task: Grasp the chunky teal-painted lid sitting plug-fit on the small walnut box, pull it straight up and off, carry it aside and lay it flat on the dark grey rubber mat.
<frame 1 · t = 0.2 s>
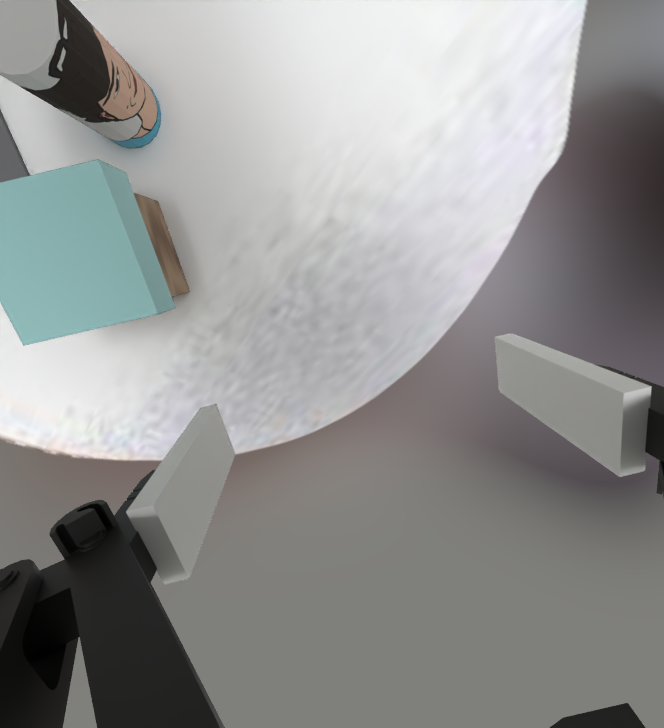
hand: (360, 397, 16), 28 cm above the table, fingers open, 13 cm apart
printed grey cylinder: (127, 111, 35), on the table
lid: (96, 258, 32), point 7 cm above the table, touching box
box: (132, 258, 39), on the table
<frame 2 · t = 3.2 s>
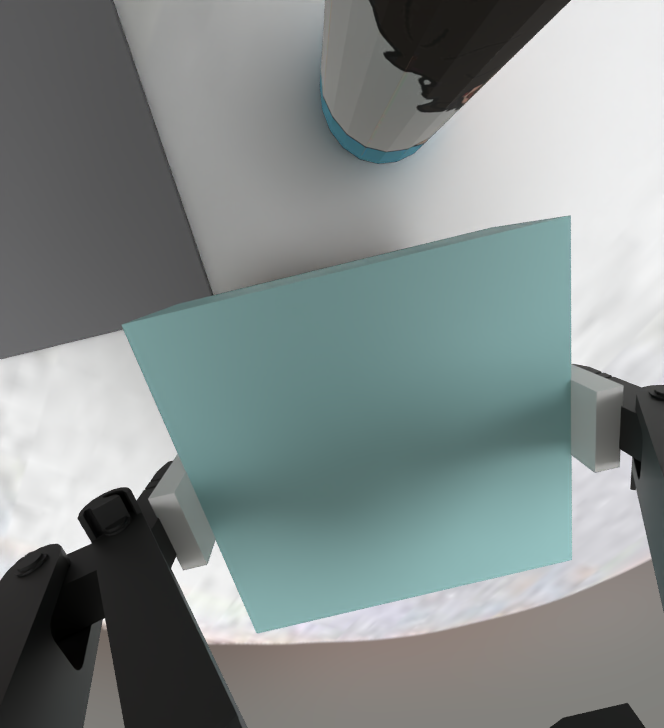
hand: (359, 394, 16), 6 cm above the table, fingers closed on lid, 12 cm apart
printed grey cylinder: (382, 93, 18), on the table
lid: (361, 396, 16), point 7 cm above the table, touching box, gripper
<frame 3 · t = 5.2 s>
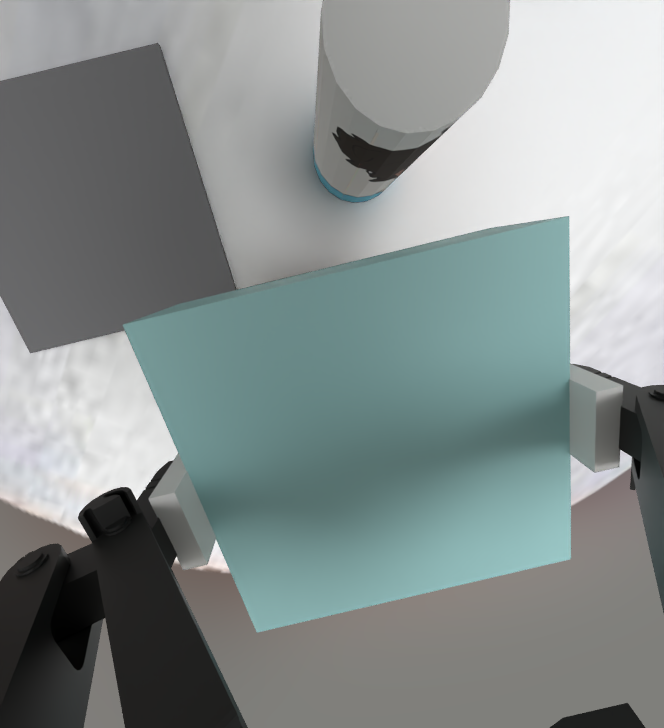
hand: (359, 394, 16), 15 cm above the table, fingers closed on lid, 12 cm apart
mat: (90, 214, 26), on the table
printed grey cylinder: (356, 155, 26), on the table
lid: (360, 396, 16), point 15 cm above the table, touching gripper
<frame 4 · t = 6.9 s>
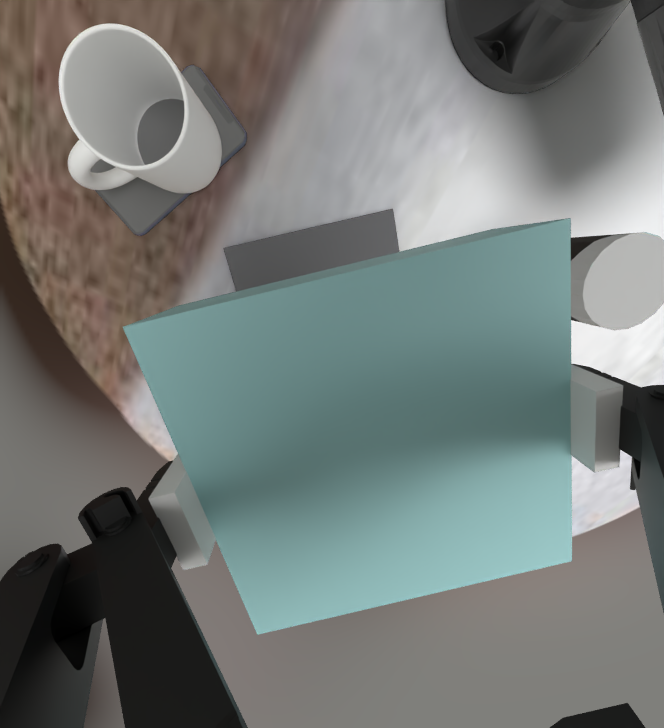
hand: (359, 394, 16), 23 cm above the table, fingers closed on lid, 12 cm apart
mug: (165, 159, 33), resting on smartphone
mat: (326, 312, 38), on the table
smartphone: (168, 157, 33), on the table
printed grey cylinder: (508, 273, 38), on the table
lid: (361, 398, 16), point 24 cm above the table, touching gripper
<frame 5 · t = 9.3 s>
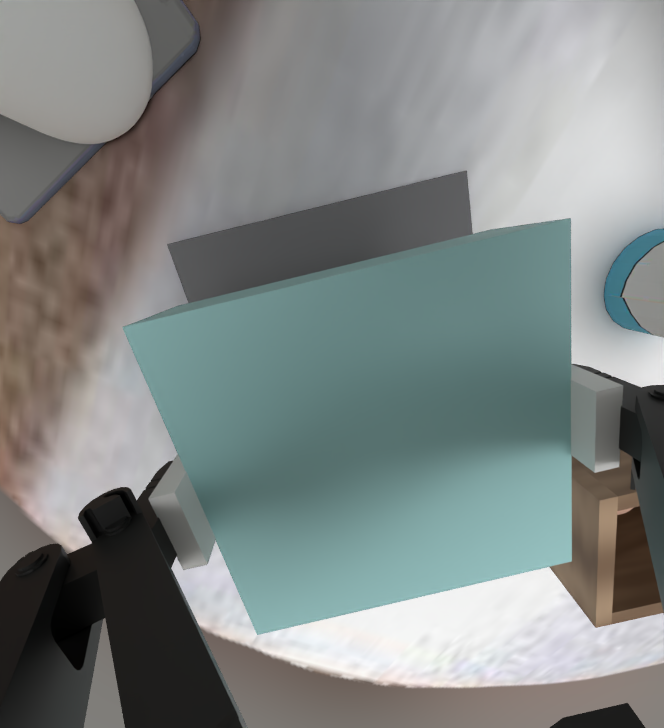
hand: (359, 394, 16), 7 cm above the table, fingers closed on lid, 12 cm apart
mug: (51, 80, 18), resting on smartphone
mat: (347, 349, 23), on the table
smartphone: (58, 78, 18), on the table
printed grey cylinder: (650, 281, 23), on the table
lid: (361, 398, 16), point 8 cm above the table, touching gripper
box: (578, 466, 27), on the table
when the fingers open (2 cm above the table, at t = 10.9 s): lid drops 2 cm, resting on mat.
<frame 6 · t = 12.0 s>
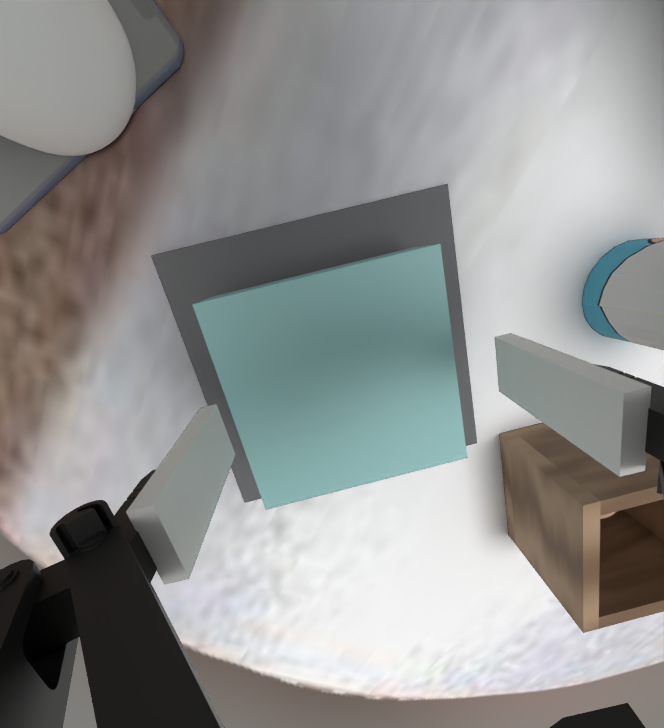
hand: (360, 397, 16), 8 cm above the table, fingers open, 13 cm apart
mug: (32, 92, 18), resting on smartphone
mat: (334, 359, 23), on the table
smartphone: (39, 90, 18), on the table
printed grey cylinder: (625, 290, 24), on the table
lid: (334, 361, 23), resting on mat
box: (563, 471, 27), on the table
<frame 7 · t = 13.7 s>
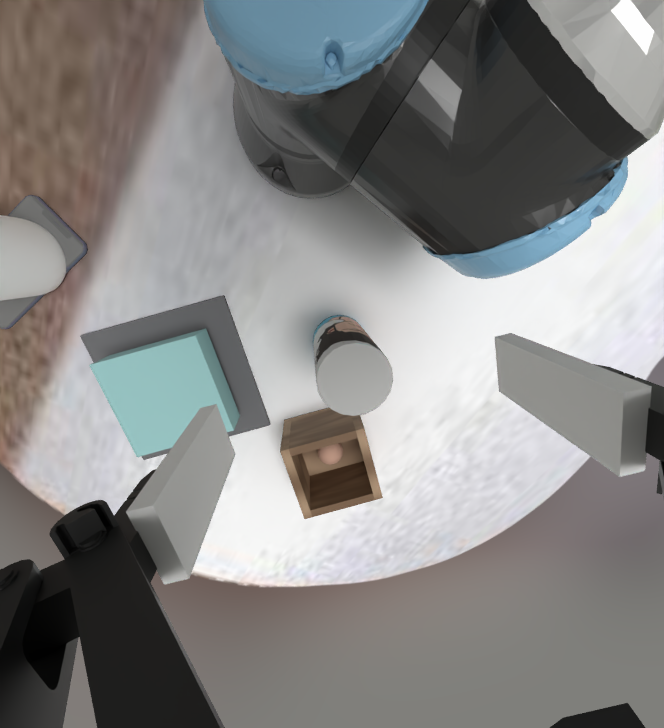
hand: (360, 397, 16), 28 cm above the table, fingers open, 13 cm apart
ball: (329, 444, 47), point 1 cm above the table, touching box
mug: (20, 267, 39), resting on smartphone
mat: (182, 382, 44), on the table
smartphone: (23, 265, 39), on the table
printed grey cylinder: (338, 340, 44), on the table
lid: (181, 383, 43), resting on mat
box: (328, 441, 48), on the table
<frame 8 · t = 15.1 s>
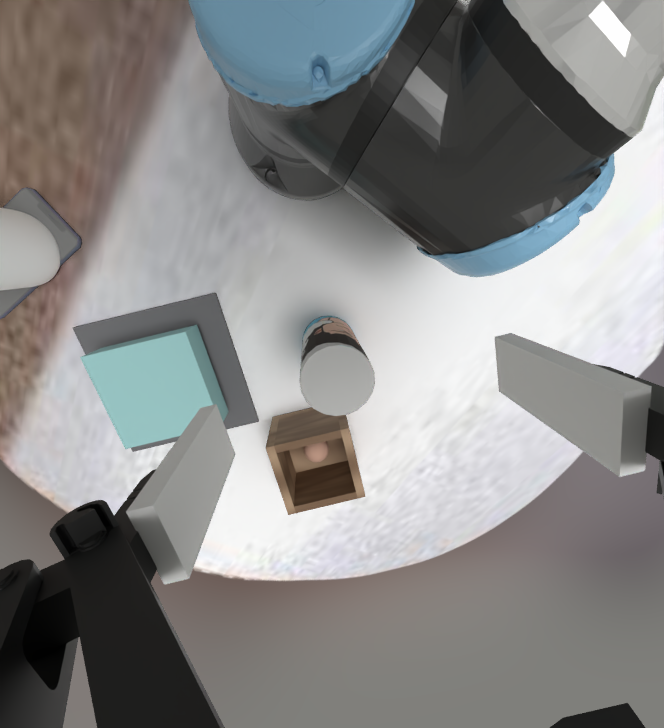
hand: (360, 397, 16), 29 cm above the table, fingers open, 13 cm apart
ball: (316, 442, 48), point 1 cm above the table, touching box
mug: (15, 258, 39), resting on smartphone
mat: (172, 376, 44), on the table
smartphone: (18, 256, 39), on the table
printed grey cylinder: (328, 340, 44), on the table
lid: (171, 377, 44), resting on mat
box: (316, 439, 49), on the table
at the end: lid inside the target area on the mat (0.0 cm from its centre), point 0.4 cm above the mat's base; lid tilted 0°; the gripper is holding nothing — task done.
